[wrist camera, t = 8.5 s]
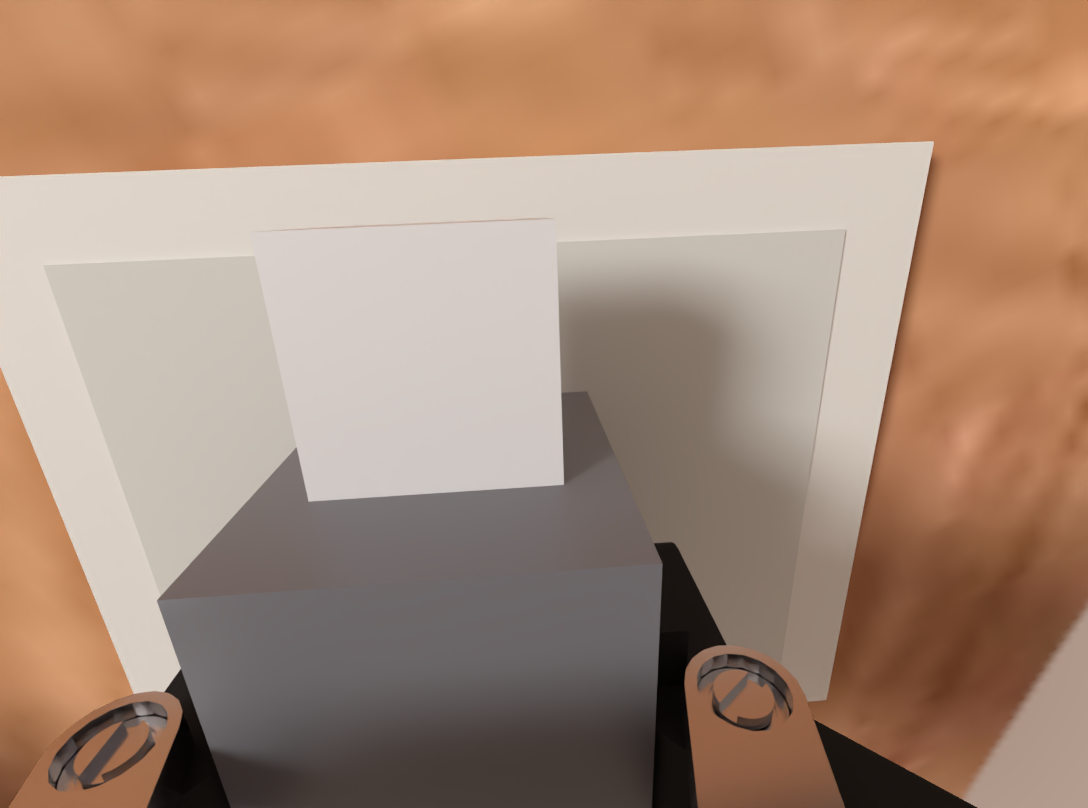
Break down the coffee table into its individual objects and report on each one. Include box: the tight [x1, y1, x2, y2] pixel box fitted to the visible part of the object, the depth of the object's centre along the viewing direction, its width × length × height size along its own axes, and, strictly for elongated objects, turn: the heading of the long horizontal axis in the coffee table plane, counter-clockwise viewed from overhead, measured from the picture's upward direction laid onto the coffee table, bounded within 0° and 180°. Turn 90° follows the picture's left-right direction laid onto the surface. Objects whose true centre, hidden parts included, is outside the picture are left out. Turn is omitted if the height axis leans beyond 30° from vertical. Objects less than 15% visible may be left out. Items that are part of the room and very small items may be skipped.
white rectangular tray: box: [0, 141, 934, 702], centre depth 12 cm, size 14×18×1 cm
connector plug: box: [157, 218, 663, 808], centre depth 8 cm, size 11×4×5 cm, turn 2°
